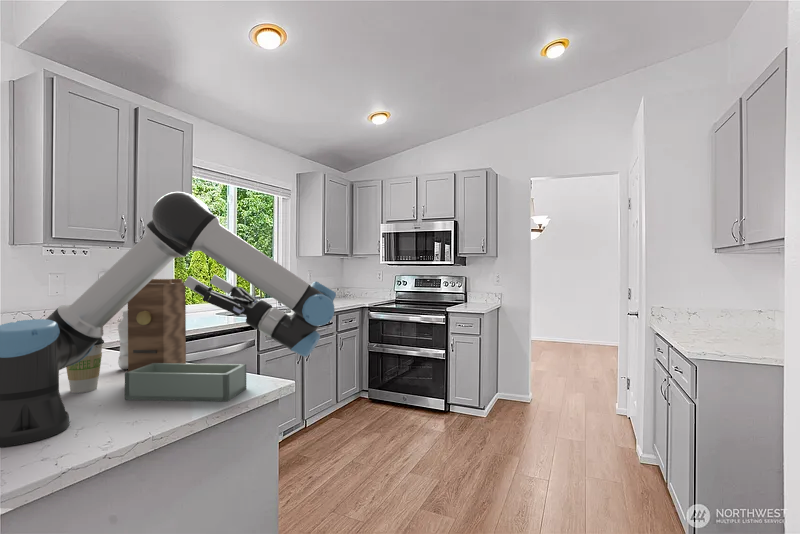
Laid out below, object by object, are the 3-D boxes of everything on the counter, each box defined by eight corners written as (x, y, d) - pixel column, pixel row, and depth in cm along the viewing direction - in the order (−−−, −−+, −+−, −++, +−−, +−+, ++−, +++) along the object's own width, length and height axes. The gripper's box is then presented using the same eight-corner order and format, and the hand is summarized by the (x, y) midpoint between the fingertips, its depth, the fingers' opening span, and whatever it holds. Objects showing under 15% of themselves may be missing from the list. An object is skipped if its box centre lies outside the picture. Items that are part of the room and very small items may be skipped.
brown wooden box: (162, 386, 130) (162, 280, 130) (123, 385, 131) (123, 280, 131) (188, 374, 144) (187, 278, 144) (152, 374, 145) (152, 278, 145)
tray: (227, 401, 116) (227, 374, 116) (124, 399, 118) (124, 373, 118) (246, 388, 128) (246, 364, 128) (153, 386, 130) (152, 363, 130)
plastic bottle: (133, 371, 149) (133, 311, 149) (113, 371, 149) (113, 311, 149) (144, 366, 155) (144, 309, 155) (125, 366, 156) (125, 309, 155)
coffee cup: (82, 395, 121) (82, 340, 121) (53, 393, 123) (52, 339, 123) (112, 386, 131) (112, 335, 131) (84, 384, 133) (84, 334, 133)
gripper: (239, 337, 109) (167, 294, 110) (274, 324, 134) (215, 288, 135) (254, 311, 109) (181, 268, 110) (287, 302, 134) (227, 267, 135)
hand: (200, 279), depth 122 cm, fingers open, 13 cm apart
